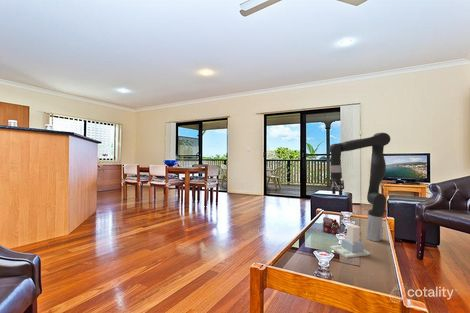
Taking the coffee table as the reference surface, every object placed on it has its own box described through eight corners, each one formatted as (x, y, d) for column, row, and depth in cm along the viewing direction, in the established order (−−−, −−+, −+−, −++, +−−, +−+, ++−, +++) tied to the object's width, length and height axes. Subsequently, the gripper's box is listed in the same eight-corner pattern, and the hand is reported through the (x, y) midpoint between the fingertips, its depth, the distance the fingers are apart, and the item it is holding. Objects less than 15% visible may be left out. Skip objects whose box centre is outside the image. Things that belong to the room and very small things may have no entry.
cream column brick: (352, 239, 157) (353, 224, 156) (358, 242, 152) (360, 227, 151) (346, 239, 155) (347, 224, 154) (352, 243, 150) (353, 227, 150)
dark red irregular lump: (338, 235, 180) (339, 221, 179) (320, 231, 187) (321, 217, 187) (340, 233, 185) (341, 219, 185) (323, 229, 193) (324, 216, 192)
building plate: (352, 245, 163) (352, 236, 162) (370, 254, 149) (371, 244, 149) (329, 247, 157) (330, 238, 156) (346, 257, 144) (347, 247, 143)
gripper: (346, 171, 170) (348, 195, 170) (335, 171, 185) (336, 193, 184) (336, 172, 169) (337, 196, 169) (325, 171, 183) (327, 193, 183)
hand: (337, 194), depth 176 cm, fingers open, 8 cm apart
